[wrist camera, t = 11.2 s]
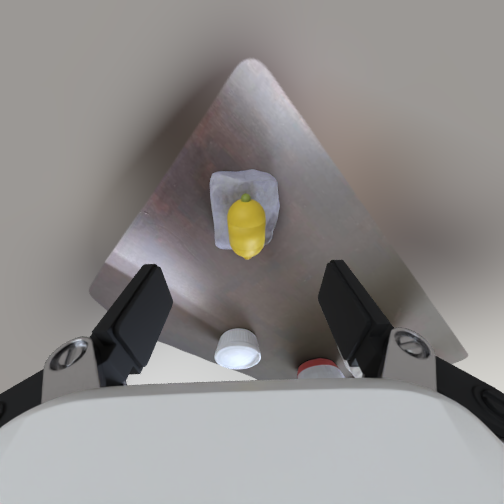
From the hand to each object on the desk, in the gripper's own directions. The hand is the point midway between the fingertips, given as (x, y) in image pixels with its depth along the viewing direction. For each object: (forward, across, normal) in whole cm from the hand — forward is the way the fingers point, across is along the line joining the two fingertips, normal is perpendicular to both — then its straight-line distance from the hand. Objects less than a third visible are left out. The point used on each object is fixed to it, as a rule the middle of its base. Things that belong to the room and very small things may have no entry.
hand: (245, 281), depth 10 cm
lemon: (+16, 0, +3) cm, 16 cm away
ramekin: (+20, +3, +38) cm, 43 cm away
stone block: (+20, 0, +3) cm, 20 cm away
